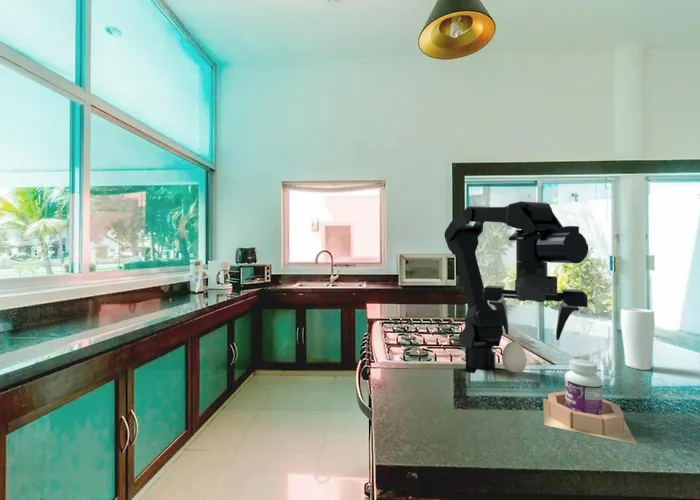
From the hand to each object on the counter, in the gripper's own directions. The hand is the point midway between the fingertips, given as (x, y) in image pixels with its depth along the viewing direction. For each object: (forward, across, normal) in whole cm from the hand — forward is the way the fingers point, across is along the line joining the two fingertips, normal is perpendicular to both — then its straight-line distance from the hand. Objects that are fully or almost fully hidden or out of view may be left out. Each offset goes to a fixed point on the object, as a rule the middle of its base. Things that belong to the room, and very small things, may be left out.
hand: (531, 336), depth 70 cm
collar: (+11, +8, -9) cm, 16 cm away
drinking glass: (+13, +24, +34) cm, 43 cm away
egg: (+13, -4, +13) cm, 19 cm away
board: (+12, +8, -9) cm, 17 cm away
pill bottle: (+11, +8, -9) cm, 16 cm away
